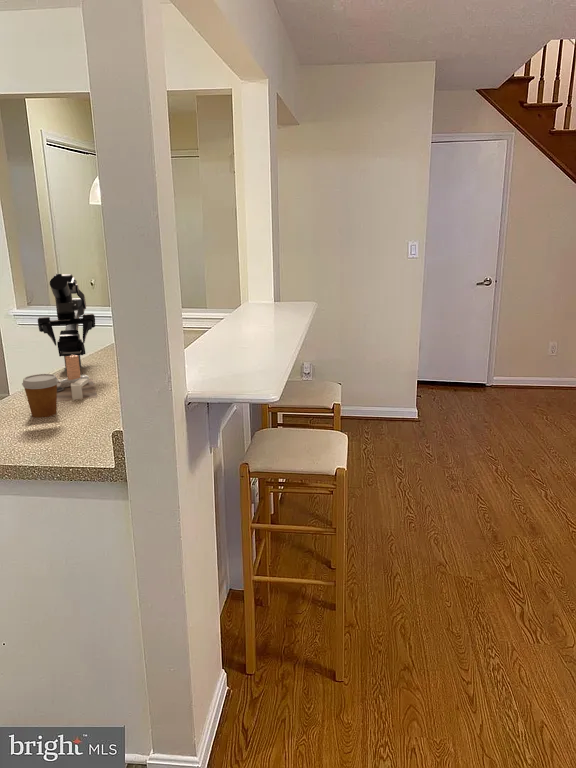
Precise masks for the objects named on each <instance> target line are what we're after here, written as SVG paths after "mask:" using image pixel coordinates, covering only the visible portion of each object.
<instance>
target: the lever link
mask: <svg viewBox="0 0 576 768" xmlns="http://www.w3.org/2000/svg"><path fill="white" fill-rule="evenodd" d="M65 359H66V368H67V371H66V375H67V378H63V379H58V383H57V390H59V389H61V388H65V387H69V386H71V383H75V382H76V381H78V380H79V379H88V382H89V379H90V377H89V375H86V374H81V368H80V366H79V357H78V356H76V355H70V356H65Z"/></svg>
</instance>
